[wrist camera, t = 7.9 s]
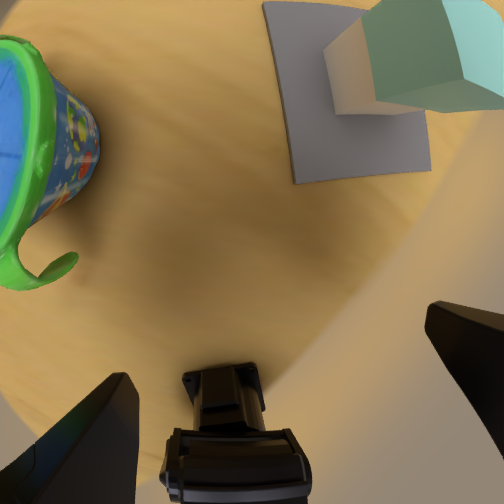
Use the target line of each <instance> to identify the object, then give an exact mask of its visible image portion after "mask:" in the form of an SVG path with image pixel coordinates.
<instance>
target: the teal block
mask: <svg viewBox="0 0 504 504" xmlns="http://www.w3.org/2000/svg"><path fill="white" fill-rule="evenodd" d="M361 21H362V25H363V30H364V34H365V39H366V43H367V48H368V53H369V59H370V64H371V70H372V76H373V83H374V90H375V97H376V101H380V102H387V103H394V104H400V105H406V106H412V107H417V108H422V109H427V110H432V111H436V112H441V113H451V112H463V111H477V110H498V109H504V24H503V22H502V19H501V17H500V14H499V13H498V12H496V11H495V10H494V9H492V8H491V7H490V6H488V5H487V4H486V3H484V2H483V1H481V0H382V1H380V2H379V3H378V4H377V5H375V6H374V7H373V8H372V9H370V10H369V11H368V12H367V13H365V14H364V15H363V16H362V17H361Z"/></svg>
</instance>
